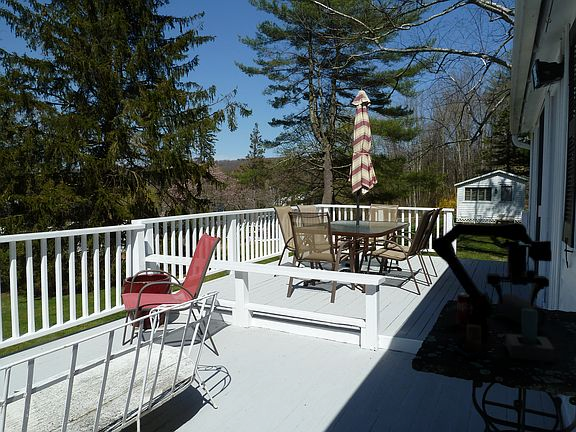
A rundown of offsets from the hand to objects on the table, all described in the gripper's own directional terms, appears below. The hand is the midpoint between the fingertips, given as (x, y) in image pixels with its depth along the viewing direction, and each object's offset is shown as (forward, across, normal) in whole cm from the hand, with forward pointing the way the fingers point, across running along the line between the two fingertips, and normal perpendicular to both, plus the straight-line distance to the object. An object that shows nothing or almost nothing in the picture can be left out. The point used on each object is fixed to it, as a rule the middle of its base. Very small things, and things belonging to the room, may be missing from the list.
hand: (516, 304), depth 154 cm
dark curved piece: (+13, +5, +25) cm, 29 cm away
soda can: (+13, -15, +16) cm, 26 cm away
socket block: (+13, +2, -10) cm, 17 cm away
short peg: (+13, -14, -13) cm, 23 cm away
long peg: (+13, +2, -10) cm, 17 cm away
